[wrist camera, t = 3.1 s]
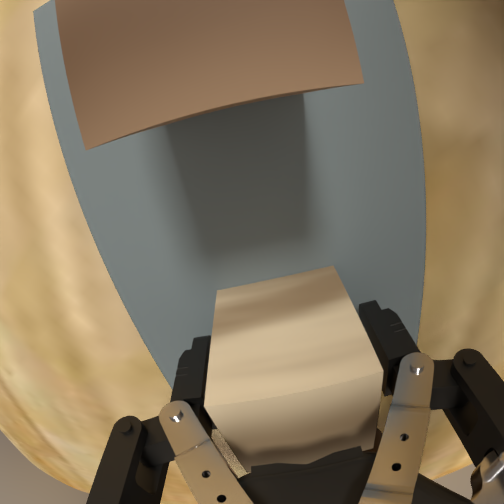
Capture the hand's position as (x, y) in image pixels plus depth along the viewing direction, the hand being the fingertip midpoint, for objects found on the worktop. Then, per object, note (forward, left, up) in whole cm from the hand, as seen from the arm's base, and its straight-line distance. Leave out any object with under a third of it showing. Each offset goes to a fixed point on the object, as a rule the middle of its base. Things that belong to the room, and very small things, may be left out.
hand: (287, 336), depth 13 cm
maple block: (0, 0, -1) cm, 1 cm away
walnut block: (-12, 0, -1) cm, 12 cm away
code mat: (-6, 0, -1) cm, 6 cm away
